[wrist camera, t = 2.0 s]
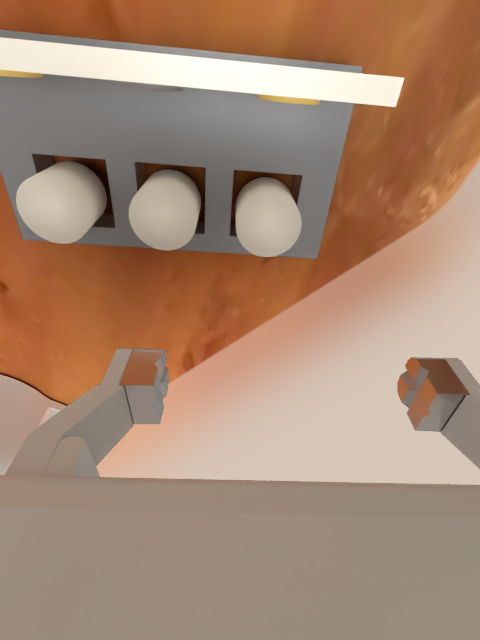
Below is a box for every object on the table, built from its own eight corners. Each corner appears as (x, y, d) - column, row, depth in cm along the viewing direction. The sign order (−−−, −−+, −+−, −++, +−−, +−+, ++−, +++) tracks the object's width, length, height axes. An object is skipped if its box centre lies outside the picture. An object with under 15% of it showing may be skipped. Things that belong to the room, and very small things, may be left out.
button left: (111, 224, 26) (94, 245, 23) (53, 220, 26) (27, 241, 23) (101, 163, 24) (81, 178, 20) (37, 158, 23) (5, 172, 20)
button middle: (200, 230, 27) (196, 252, 23) (144, 226, 26) (132, 248, 23) (201, 171, 24) (196, 187, 21) (139, 166, 24) (124, 181, 20)
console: (310, 244, 31) (345, 323, 21) (40, 225, 29) (-55, 302, 20) (349, 66, 23) (433, 64, 13) (-17, 29, 21) (-219, -3, 12)
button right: (287, 236, 27) (295, 258, 24) (233, 232, 27) (233, 255, 24) (297, 179, 24) (307, 195, 21) (237, 174, 24) (238, 190, 21)
